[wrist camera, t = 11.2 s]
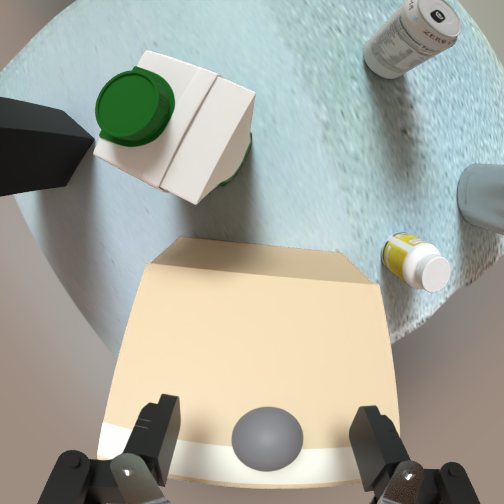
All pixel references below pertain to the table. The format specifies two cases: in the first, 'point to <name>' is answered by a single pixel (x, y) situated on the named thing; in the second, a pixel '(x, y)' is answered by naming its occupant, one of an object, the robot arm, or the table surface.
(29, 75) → the table surface
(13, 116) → the tall black box
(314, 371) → the flap
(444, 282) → the supplement bottle
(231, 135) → the milk carton
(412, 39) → the energy drink can
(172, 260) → the carton
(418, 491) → the robot arm
